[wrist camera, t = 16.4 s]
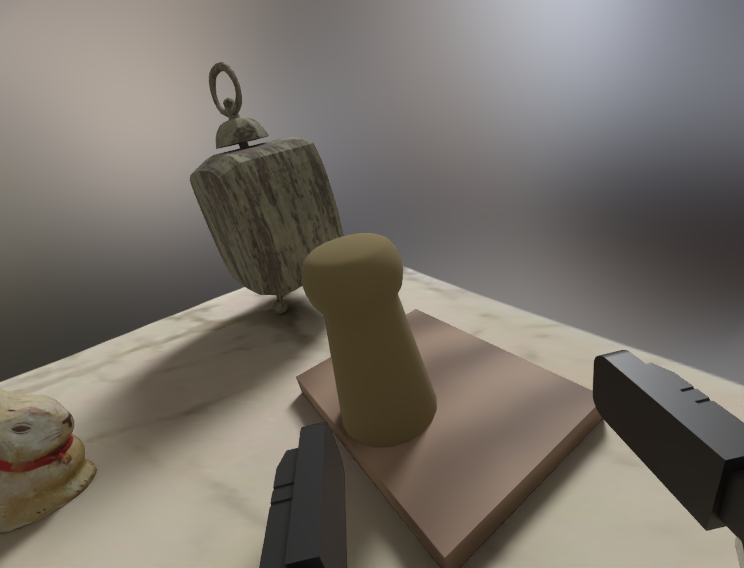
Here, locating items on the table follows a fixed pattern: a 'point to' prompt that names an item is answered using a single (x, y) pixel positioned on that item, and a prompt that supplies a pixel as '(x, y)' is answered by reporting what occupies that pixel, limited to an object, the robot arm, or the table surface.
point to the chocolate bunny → (38, 459)
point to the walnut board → (467, 438)
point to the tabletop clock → (264, 201)
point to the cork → (370, 339)
